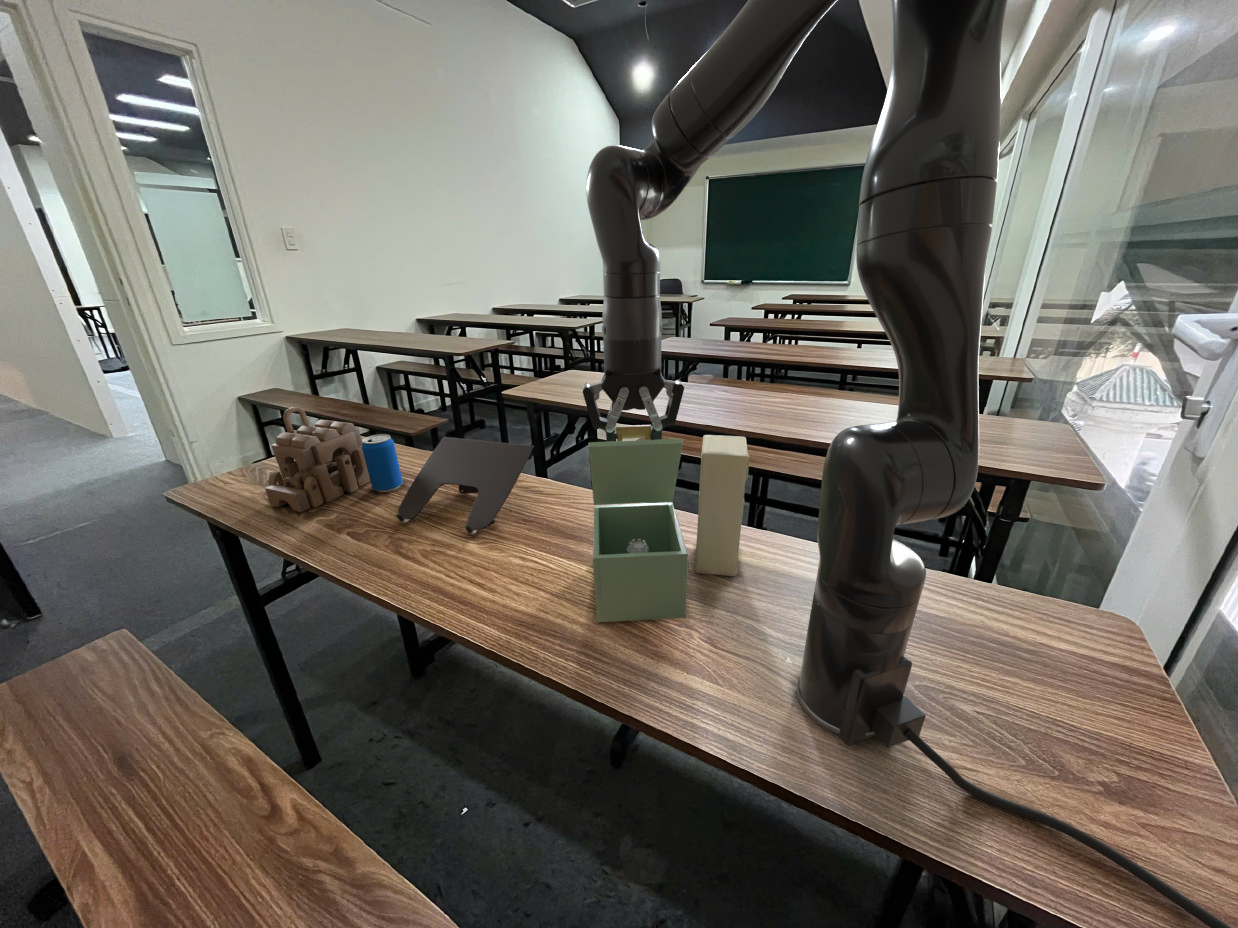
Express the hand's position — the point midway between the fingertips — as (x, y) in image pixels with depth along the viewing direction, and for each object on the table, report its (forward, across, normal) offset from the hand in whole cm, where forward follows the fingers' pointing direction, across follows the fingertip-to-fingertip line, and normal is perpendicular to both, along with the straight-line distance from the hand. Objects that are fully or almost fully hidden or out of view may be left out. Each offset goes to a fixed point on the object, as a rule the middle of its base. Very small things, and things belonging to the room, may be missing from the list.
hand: (633, 453), depth 68 cm
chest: (+21, 0, +3) cm, 21 cm away
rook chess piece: (+21, 0, +4) cm, 21 cm away
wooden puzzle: (+22, +68, -38) cm, 81 cm away
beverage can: (+22, +54, -37) cm, 69 cm away
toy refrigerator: (+22, -14, -2) cm, 26 cm away
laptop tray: (+22, +34, -26) cm, 48 cm away
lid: (+4, 0, 0) cm, 4 cm away
